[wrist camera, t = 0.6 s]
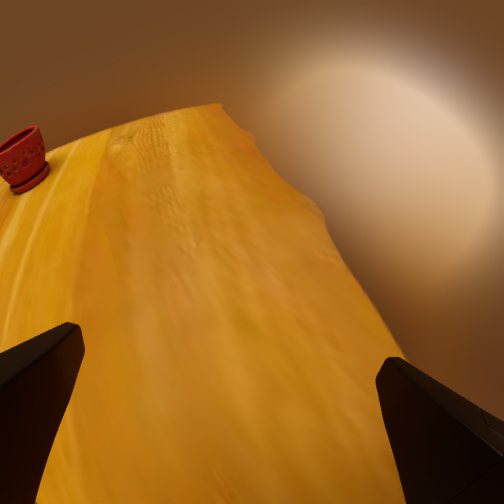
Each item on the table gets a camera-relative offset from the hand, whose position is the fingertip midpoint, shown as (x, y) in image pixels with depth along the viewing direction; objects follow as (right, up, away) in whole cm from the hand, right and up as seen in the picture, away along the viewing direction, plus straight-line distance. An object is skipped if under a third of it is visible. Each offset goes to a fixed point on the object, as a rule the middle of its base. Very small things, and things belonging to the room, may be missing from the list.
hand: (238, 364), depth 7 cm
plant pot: (-51, +19, +43) cm, 69 cm away
